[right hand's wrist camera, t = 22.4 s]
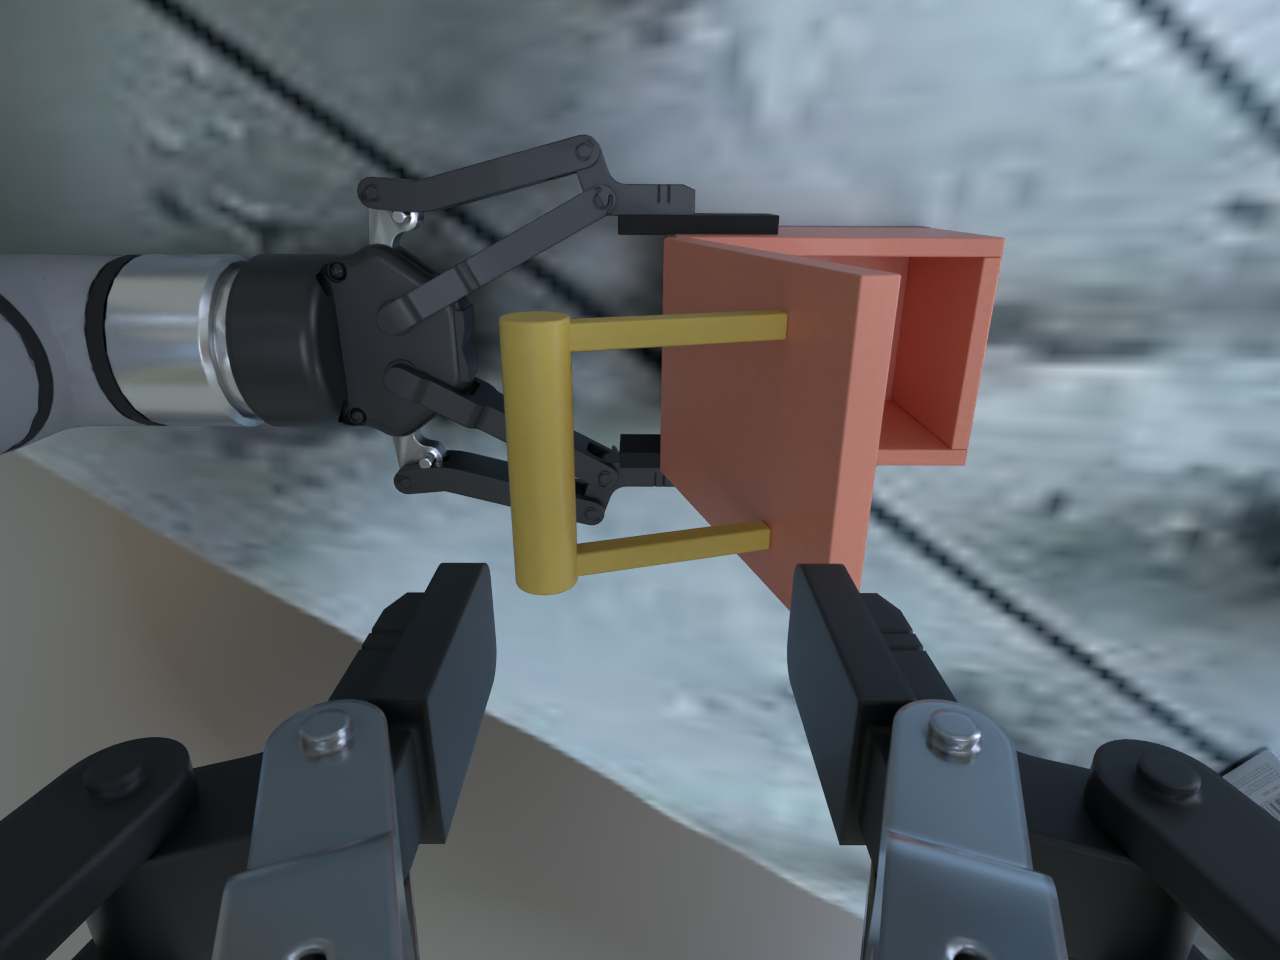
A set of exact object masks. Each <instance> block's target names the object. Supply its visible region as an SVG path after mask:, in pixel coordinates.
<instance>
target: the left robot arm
mask: <svg viewBox="0 0 1280 960" xmlns="http://www.w3.org/2000/svg"><path fill="white" fill-rule="evenodd" d="M575 173H577V176H578V178H579V181H580V184H581V187H582V189H583V193H581V194H579V195H577V196H576V197H574V198H572V199H571V200H569V201H567V202H565V203H564V204H562V205H560V206H558V207H557V208H555V209H553V210H552V211H550V212H548V213H546V214H545V215H543V216H541V217H539V218H538V219H536V220H534V221H532V222H531V223H529V224H527V225H526V226H524V227H522V228H520V229H519V230H517V231H515V232H513V233H512V234H510V235H508V236H507V237H505V238H503V239H501V240H500V241H498V242H496V243H494V244H493V245H491V246H489V247H488V248H486V249H484V250H482V251H481V252H479V253H477V254H475V255H474V256H472V257H470V258H469V259H467V260H465V261H463V262H461V263H459V264H458V265H456V266H454V267H452V268H450V269H449V270H447V271H445V272H444V273H442V274H439V273H437V272H436V271H435V270H433V269H432V268H430V267H429V266H427V265H426V264H425V263H423V262H422V261H420V260H419V259H417V258H416V257H415V256H413V255H412V254H410V253H409V252H408V251H406V250H405V249H403V248H402V247H400V246H399V240H400V238H401V236H402V235H403V234H404V233H405V232H407V231H411V230H416V229H418V228H419V227H420V226H421V225H422V223H423V220H424V212H427V211H437V210H443V209H448V208H452V207H456V206H459V205H463V204H467V203H470V202H474V201H477V200H481V199H485V198H488V197H492V196H496V195H499V194H503V193H506V192H510V191H514V190H517V189H521V188H525V187H528V186H532V185H535V184H539V183H543V182H546V181H550V180H554V179H557V178H561V177H564V176H568V175H572V174H575ZM357 192H358V197H359V199H360V201H361V202H362V203H363V204H364V205H365V206H366V207H368V225H369V245H367V246H365V247H363V248H362V249H360V250H359V251H357V252H355V253H353V254H260V255H257V256H254V257H253V258H251V259H249V258H246V257H244V256H242V255H239V254H143V255H126V256H115V255H72V254H30V253H0V455H1V454H4V453H7V452H11V451H14V450H16V449H19V448H21V447H24V446H26V445H28V444H31V443H33V442H35V441H38V440H40V439H43V438H45V437H47V436H50V435H52V434H54V433H57V432H59V431H62V430H65V429H70V428H75V427H82V426H139V425H154V426H254V427H255V426H257V425H260V424H262V423H264V422H266V423H268V424H270V425H273V426H320V427H351V426H367V427H371V428H375V429H377V430H380V431H382V432H384V433H386V434H388V435H390V436H393V439H394V444H395V448H396V453H397V457H398V462H399V466H400V470H399V471H398V472H397V474H396V475H395V477H394V484H395V487H396V488H397V489H398V490H399V491H400V492H402V493H404V494H416V493H428V492H439V491H447V492H451V493H455V494H460V495H464V496H468V497H472V498H477V499H481V500H485V501H489V502H494V503H498V504H502V505H506V506H511V501H510V485H509V470H508V462H507V461H503V460H499V459H494V458H490V457H486V456H482V455H478V454H474V453H469V452H464V451H455V450H446V449H445V447H444V445H443V444H442V443H440V442H438V441H435V440H429V439H427V438H425V437H424V436H423V435H422V434H421V432H420V430H419V429H420V428H421V427H422V426H424V425H425V424H426V423H428V422H429V421H430V420H432V419H433V418H434V417H436V416H437V415H438V414H440V415H442V416H444V417H446V418H448V419H450V420H452V421H454V422H456V423H458V424H460V425H462V426H465V427H467V428H474V429H479V430H482V431H484V432H486V433H488V434H490V435H492V436H494V437H496V438H498V439H500V440H502V441H504V442H506V443H507V440H506V425H505V409H504V395H503V394H501V393H499V392H498V391H497V390H496V389H495V388H494V387H493V386H492V385H490V384H488V383H486V382H484V381H482V380H481V379H479V378H477V377H475V375H476V374H477V373H478V363H477V354H476V351H475V349H474V346H473V343H472V340H471V336H472V331H473V326H474V311H473V304H469V301H468V299H467V297H466V295H467V294H469V293H471V292H473V291H474V290H476V289H478V288H480V287H481V286H483V285H485V284H487V283H488V282H490V281H492V280H494V279H495V278H497V277H499V276H501V275H502V274H504V273H506V272H508V271H509V270H511V269H513V268H515V267H516V266H518V265H520V264H522V263H523V262H525V261H527V260H529V259H531V258H532V257H534V256H536V255H538V254H539V253H541V252H543V251H545V250H546V249H548V248H550V247H552V246H553V245H555V244H557V243H559V242H560V241H562V240H564V239H566V238H567V237H569V236H571V235H573V234H574V233H576V232H578V231H580V230H581V229H583V228H585V227H587V226H589V225H590V224H592V223H594V222H596V221H597V220H599V219H601V218H603V217H604V216H618V235H675V234H749V235H778V226H779V216H778V215H773V214H724V213H695V190H694V189H692V188H690V187H688V186H685V185H683V184H621V183H619V182H617V181H615V180H614V179H613V178H612V177H611V175H610V173H609V171H608V168H607V165H606V163H605V160H604V157H603V154H602V150H601V148H600V146H599V144H598V143H597V142H596V141H595V140H594V139H593V138H592V137H591V136H588V135H578V136H575V137H571V138H567V139H564V140H560V141H557V142H553V143H550V144H546V145H543V146H539V147H535V148H532V149H528V150H525V151H521V152H518V153H514V154H510V155H507V156H503V157H500V158H496V159H493V160H489V161H485V162H482V163H478V164H475V165H471V166H468V167H464V168H461V169H457V170H453V171H450V172H446V173H443V174H439V175H436V176H432V177H428V178H425V179H421V180H418V181H415V180H406V179H397V178H384V177H366V178H365V179H363V180H361V182H360V183H359V185H358V190H357ZM573 431H574V430H573ZM660 451H661V434H621V436H620V452H619V451H618V449H617V448H616V447H615V446H612V450H611V449H609V448H607V447H605V446H603V445H602V444H600V443H598V442H596V441H594V440H592V439H590V438H588V437H586V436H584V435H582V434H580V433H578V432H576V431H574V465H575V477H577V478H579V479H577V478H575V498H576V522H578V523H583V524H587V525H596V524H599V523H600V522H601V521H602V520H603V518H604V512H605V510H606V507H607V505H608V502H609V499H610V497H611V495H612V493H613V492H614V491H615V490H617V489H618V488H621V487H626V486H646V487H654V486H656V487H662V486H664V487H675V486H674V485H673V484H672V483H671V482H670V481H669V480H668V479H667V477H666V476H665V475H664V474H663V473H662V472H661V471H660Z"/></svg>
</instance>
